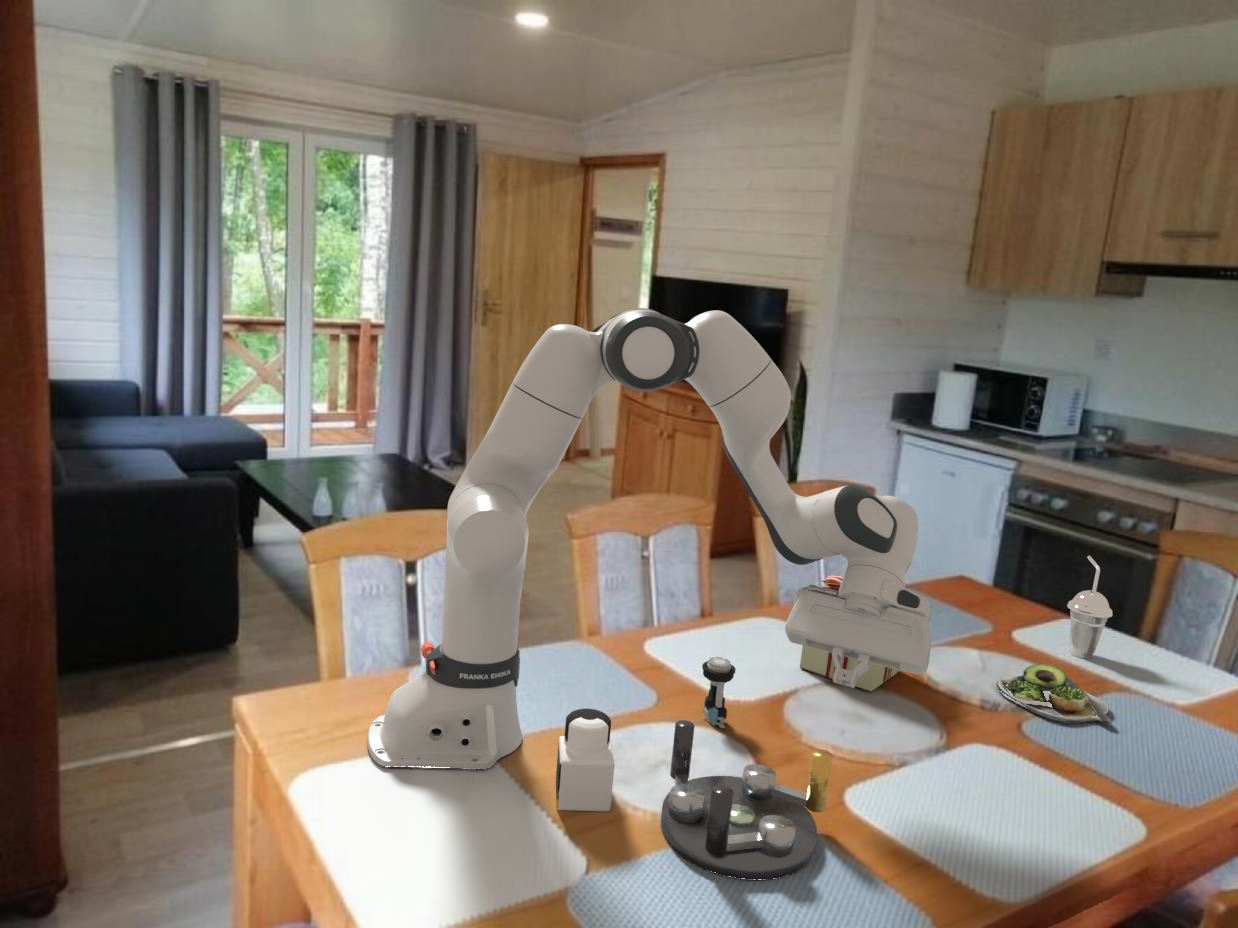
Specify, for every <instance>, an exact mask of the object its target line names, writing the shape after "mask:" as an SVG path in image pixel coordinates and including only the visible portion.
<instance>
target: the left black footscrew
mask: <svg viewBox="0 0 1238 928" xmlns="http://www.w3.org/2000/svg"><path fill="white" fill-rule="evenodd" d="M694 733H695V724H694V723H693V722H692V721H689V720H683V719H681V720H677V721H676V722H675V725H674V734H673V746H672V754H671V763H670V771H669V772H670V773H669V775H670V777H671V778H672V779H673V780H674V786H672V787H671V789H670V790H669V792H670V799H669V809H668V812H669V815H670V816H671V817H672V818H673V819H675V820H677V821H680V822H684V823H693V822H697V821H699V820H700V819H701V818H702V813H703V804H704V792H703V791H702V790H701V789H700V788H698V787H696V786H694V785H690V784H689V779H690V771H691V763H692V754H693V753H692V752H693V745H694V744H693V743H694V735H695V734H694Z"/></svg>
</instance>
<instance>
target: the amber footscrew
mask: <svg viewBox="0 0 1238 928" xmlns="http://www.w3.org/2000/svg"><path fill="white" fill-rule="evenodd" d="M832 763H833V754H832V753H831V752H830V751H828V750H825V749H822V748H821V749H820V748H819V749H814V750H813V751H812V753H811V760H810V766H809V775H808V783H807V789H806V792H804V791H800V790H798V789H794V788H791V787H788V786H785V785H783V784H779V783H776V781H777V773H776V771H775V770H773V768H771V767H769V766H768V765H765V764H764V765H763V764H757V763H753V764H748V765H746V766H744V768H743V773H742V778H743V779H742V787H741V790H742V792H743V794H744V795H746V796H747V797H749V798H751V799H755V800H768V799H771V798H772V797H773V796H775V797H778V798H781V799H784V800H787V801H790V802H793V803H796V804H798V805H801V806H804V807H805V808H806V809H807V810H808V811H809V812H810V811H811V812H813V813H822V812H824V811H825V810H826V805H827V800H828V798H827V797H828V792H829V785H830V777H831V770H832Z"/></svg>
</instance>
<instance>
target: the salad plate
mask: <svg viewBox="0 0 1238 928" xmlns="http://www.w3.org/2000/svg"><path fill="white" fill-rule="evenodd" d="M1022 674H1023V675H1018V676H1010V677H1009V676H1008V677H1001V678H999V679H998V680H996V688H997V687H998V688H999V690H1000V691H1002V693H1004V694H1006V695H1007V696H1009V697H1011V698H1012V699H1014V700H1015V701H1018V702H1020V703H1021V704H1023V705H1025V706H1026V707H1027V708H1028V709H1029V710H1030V711H1029V710H1028V711H1029V712H1031V711H1032V713H1033V714H1036V715H1037V716H1038V715H1039V716H1040V717H1043V718H1045V719H1048V720H1050V719H1051V721H1054V720H1055V722H1058V721H1059V723H1063V722H1065V724H1073V723H1076V724H1082V723H1083V722H1084V723H1089V722H1090V723H1091V722H1095V721H1097V722H1098V721H1101V722H1103V723H1105V724H1112V719H1111V718H1110V717H1109V716H1108V715H1107V714H1108V712H1109V705H1108V704H1107V702H1106V701H1104V700H1102V699H1100V698H1098V697H1097V696H1094V695H1092V694H1090V693H1088V692H1086V691H1085V690H1083V689H1082V688H1080V687H1079V686H1078V684H1077V683H1076V682H1075V681H1074V680H1072V679H1071V678H1069V677H1067V674H1066V673H1065V672H1064V671H1063V670H1062V669H1061V668H1059V667H1058V666H1055V665H1052V664H1046V663H1038V664H1037V663H1036V664H1032V665H1029V666H1027V667H1026V668H1025V669H1024V670H1023V673H1022ZM1019 681H1020V682H1019ZM1008 682H1009V683H1008ZM1007 684H1008V686H1006V685H1007ZM1006 688H1007V689H1008V690H1009V691H1011V693H1012V694H1013V696H1014V697H1013V696H1012V695H1011V694H1010V693H1009V692H1008V690H1007V689H1006ZM999 690H998V691H999ZM1043 691H1050V692H1051V694H1049V700H1048V701H1047V700H1046V698H1045V696H1044V693H1043ZM1016 698H1018V699H1022V700H1026V701H1040V702H1050V703H1051V704H1052V707H1053V708H1054V709H1053V710H1055V711H1057V712H1059V713H1062V714H1063V715H1059V714H1054V713H1051V712H1047V711H1044V710H1041V709H1038V708H1036V707H1033V706H1032V705H1027V704H1025V703H1023V702H1021V701H1019V700H1018V699H1016ZM1084 723H1083V724H1084Z"/></svg>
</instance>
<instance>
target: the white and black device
mask: <svg viewBox="0 0 1238 928" xmlns="http://www.w3.org/2000/svg"><path fill="white" fill-rule="evenodd" d="M611 727H612V720H611V718H610V717H609V716H608V714H606V713H605V712H603V711H600V710H598V709H594V708H579V709H575V710H572V711H571V712H570V713H569V714H568V715H566V717H565V727H564V735H560V736H559V737H558V746H557V747H558V748H557V759H556V762H557V763H556V770H555V772H556V775H555V802H556V803H555V805H556V809H557V810H558V811H573V812H600V813H601V812H604V813H605V812H606V813H607V812H611V808H612V807H611V805H612V794H613V785H614V783H613V782H614V774H615V760H614V753H613V745H612V740H611V738H610V737H611V729H612V728H611Z"/></svg>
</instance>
